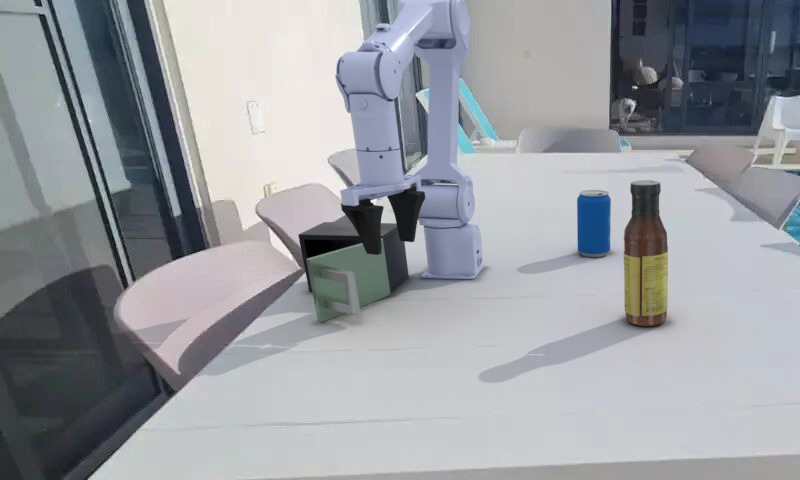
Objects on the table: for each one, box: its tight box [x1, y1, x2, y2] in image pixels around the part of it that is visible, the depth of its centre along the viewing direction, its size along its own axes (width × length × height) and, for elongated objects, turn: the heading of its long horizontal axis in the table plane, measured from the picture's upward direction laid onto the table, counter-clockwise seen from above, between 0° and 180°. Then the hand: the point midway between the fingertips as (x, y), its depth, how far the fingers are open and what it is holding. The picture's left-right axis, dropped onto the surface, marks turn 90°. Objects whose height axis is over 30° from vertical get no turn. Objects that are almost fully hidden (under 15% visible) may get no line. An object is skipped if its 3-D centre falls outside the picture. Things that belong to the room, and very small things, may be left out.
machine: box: [298, 221, 410, 295], centre depth 106 cm, size 9×14×10 cm, turn 86°
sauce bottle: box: [623, 179, 669, 327], centre depth 89 cm, size 6×6×20 cm
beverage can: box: [576, 189, 612, 258], centre depth 124 cm, size 6×6×12 cm
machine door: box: [306, 238, 392, 323], centre depth 94 cm, size 6×14×9 cm, turn 152°
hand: (391, 247), depth 92 cm, fingers open, 7 cm apart
